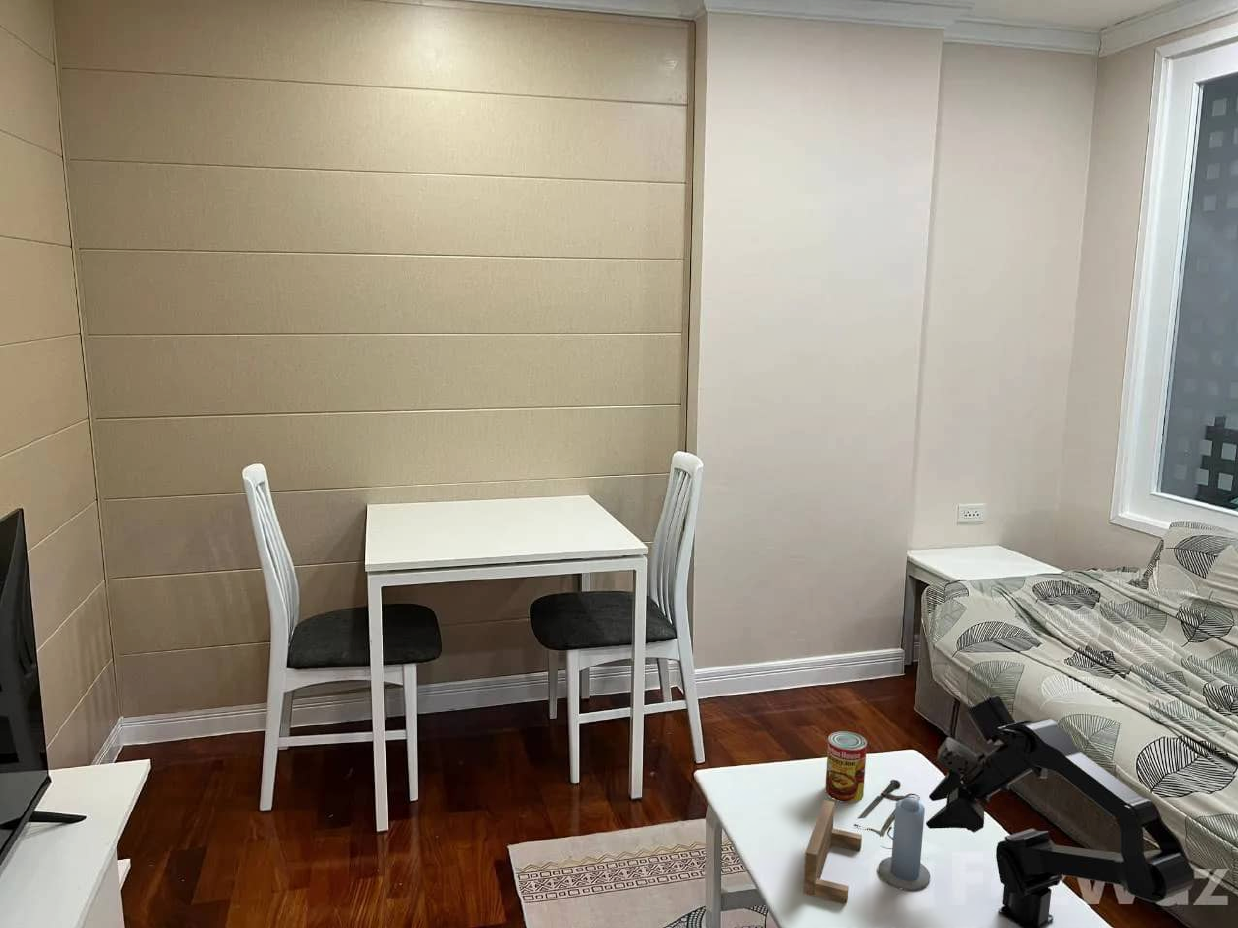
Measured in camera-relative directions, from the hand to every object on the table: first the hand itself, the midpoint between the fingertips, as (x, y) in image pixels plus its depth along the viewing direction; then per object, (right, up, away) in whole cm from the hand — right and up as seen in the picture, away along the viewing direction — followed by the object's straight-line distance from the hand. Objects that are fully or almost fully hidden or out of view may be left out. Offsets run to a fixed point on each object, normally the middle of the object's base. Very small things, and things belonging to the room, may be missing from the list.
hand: (929, 811), depth 165 cm
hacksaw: (0, -10, +23) cm, 25 cm away
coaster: (-3, -13, +4) cm, 14 cm away
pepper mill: (-3, -12, +4) cm, 13 cm away
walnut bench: (-16, -12, +6) cm, 21 cm away
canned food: (-8, -8, +31) cm, 33 cm away
